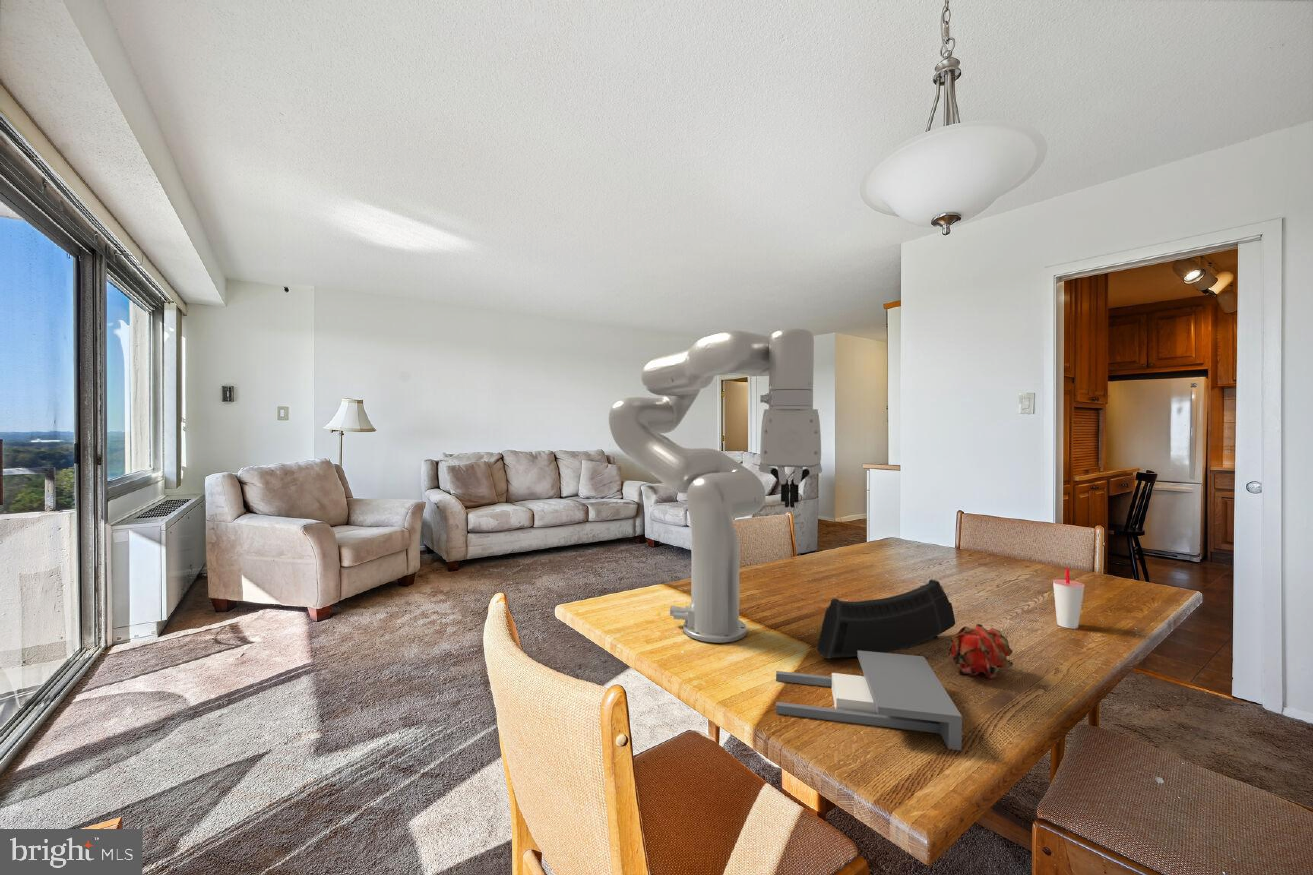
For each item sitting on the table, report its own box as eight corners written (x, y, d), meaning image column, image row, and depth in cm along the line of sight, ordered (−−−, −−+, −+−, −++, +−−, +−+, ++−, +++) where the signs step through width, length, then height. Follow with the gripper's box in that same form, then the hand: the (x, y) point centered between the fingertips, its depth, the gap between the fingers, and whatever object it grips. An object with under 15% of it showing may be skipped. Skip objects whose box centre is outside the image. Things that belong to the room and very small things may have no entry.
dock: (775, 726, 73) (776, 695, 73) (776, 668, 90) (776, 642, 90) (961, 750, 68) (962, 716, 68) (923, 683, 85) (923, 656, 85)
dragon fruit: (1007, 676, 92) (962, 701, 86) (966, 634, 97) (922, 655, 92) (1036, 649, 86) (991, 674, 81) (991, 606, 92) (946, 627, 87)
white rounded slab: (836, 715, 76) (836, 698, 76) (831, 688, 84) (831, 672, 84) (920, 726, 73) (920, 708, 73) (907, 697, 81) (907, 680, 81)
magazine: (817, 615, 90) (941, 547, 102) (804, 608, 93) (926, 544, 105) (840, 706, 93) (958, 631, 104) (826, 697, 96) (943, 625, 107)
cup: (1046, 623, 112) (1047, 566, 111) (1059, 619, 114) (1061, 563, 114) (1075, 632, 107) (1077, 572, 107) (1089, 627, 109) (1090, 569, 109)
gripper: (745, 400, 91) (744, 508, 91) (838, 400, 87) (836, 511, 88) (748, 402, 98) (747, 501, 99) (833, 402, 95) (832, 505, 95)
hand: (789, 506), depth 93 cm, fingers closed
